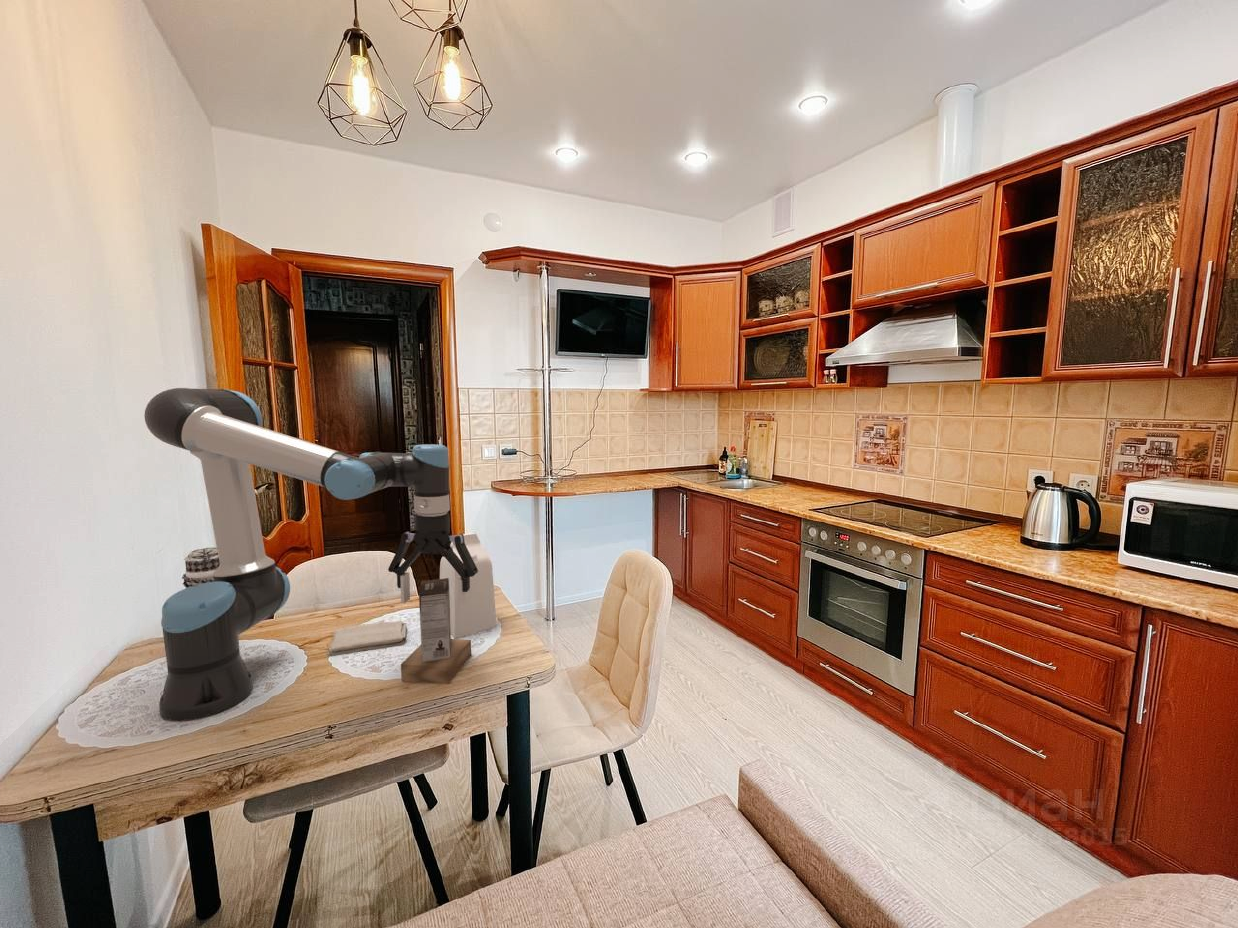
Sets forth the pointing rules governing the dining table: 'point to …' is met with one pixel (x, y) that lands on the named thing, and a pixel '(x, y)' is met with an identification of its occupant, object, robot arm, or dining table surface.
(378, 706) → the dining table surface
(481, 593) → the milk
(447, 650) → the coffee box
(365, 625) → the washcloth
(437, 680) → the pedestal
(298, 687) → the dining table surface
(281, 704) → the dining table surface
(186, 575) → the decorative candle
